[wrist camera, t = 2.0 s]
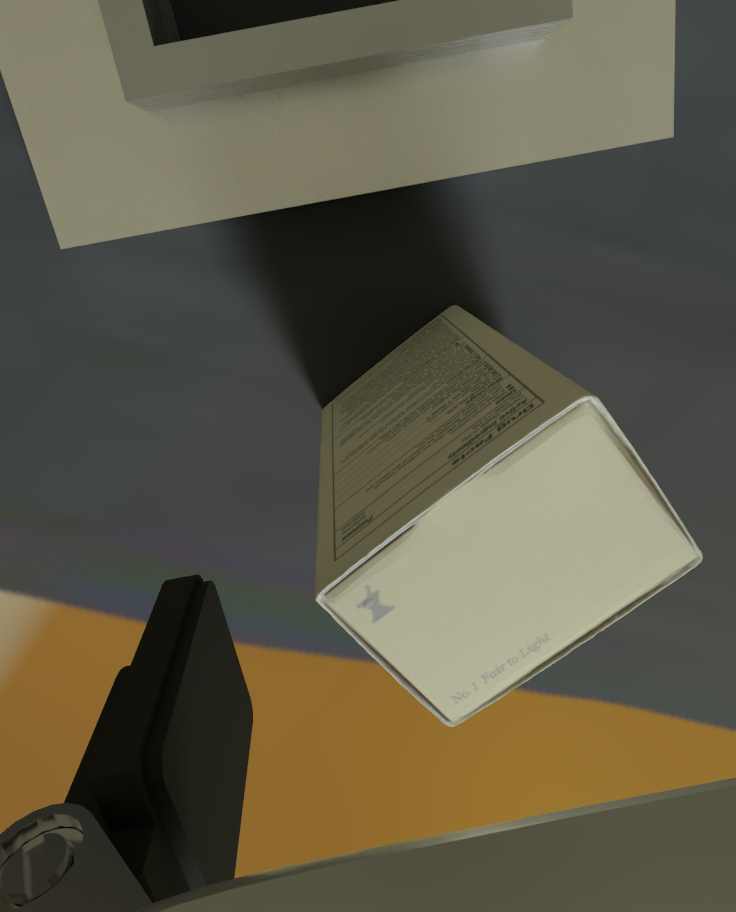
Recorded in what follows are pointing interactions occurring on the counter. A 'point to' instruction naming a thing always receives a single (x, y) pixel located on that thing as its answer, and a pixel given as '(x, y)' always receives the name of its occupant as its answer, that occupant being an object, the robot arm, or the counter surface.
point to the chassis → (317, 101)
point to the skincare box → (482, 516)
